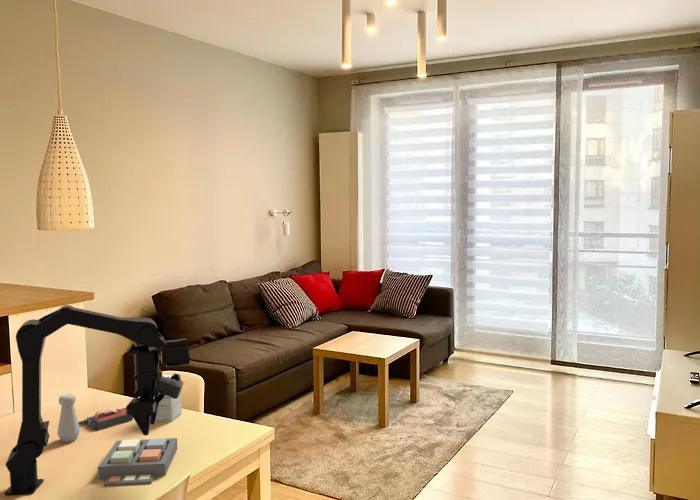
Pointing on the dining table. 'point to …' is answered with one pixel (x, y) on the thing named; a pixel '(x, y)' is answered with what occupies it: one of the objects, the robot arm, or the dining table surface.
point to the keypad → (136, 466)
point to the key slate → (157, 444)
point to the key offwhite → (129, 445)
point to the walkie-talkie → (107, 418)
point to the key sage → (122, 457)
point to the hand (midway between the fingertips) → (149, 429)
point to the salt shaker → (68, 419)
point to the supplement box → (169, 407)
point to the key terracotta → (150, 455)
